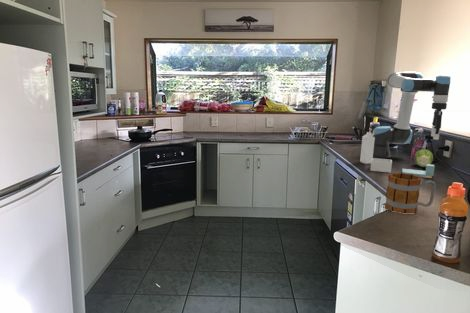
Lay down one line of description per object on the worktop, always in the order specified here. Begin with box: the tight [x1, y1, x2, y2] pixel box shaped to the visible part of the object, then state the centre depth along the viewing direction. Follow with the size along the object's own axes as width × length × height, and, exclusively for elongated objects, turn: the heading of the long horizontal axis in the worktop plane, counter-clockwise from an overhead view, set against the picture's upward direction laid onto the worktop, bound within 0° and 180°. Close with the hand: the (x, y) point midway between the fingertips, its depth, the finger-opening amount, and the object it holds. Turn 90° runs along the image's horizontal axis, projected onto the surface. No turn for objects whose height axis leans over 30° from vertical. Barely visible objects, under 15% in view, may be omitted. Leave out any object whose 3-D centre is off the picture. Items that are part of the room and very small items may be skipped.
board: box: [416, 175, 433, 179], centre depth 216 cm, size 11×15×1 cm
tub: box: [369, 157, 393, 174], centre depth 223 cm, size 10×12×7 cm
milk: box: [359, 131, 375, 164], centre depth 242 cm, size 6×6×22 cm
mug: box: [384, 172, 437, 214], centre depth 151 cm, size 20×14×15 cm
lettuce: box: [413, 148, 434, 168], centre depth 237 cm, size 12×21×11 cm, turn 152°
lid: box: [401, 164, 435, 177], centre depth 215 cm, size 11×17×6 cm, turn 66°
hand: (434, 138), depth 210 cm, fingers open, 13 cm apart
